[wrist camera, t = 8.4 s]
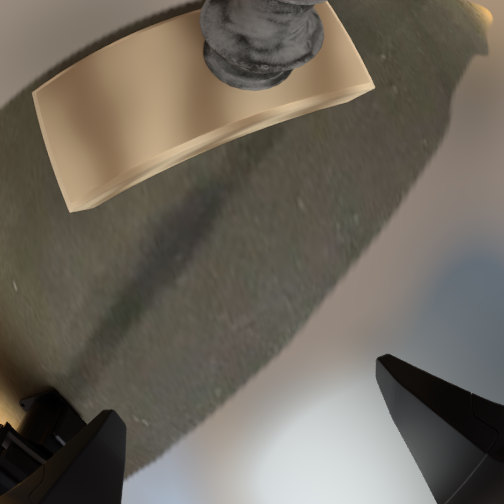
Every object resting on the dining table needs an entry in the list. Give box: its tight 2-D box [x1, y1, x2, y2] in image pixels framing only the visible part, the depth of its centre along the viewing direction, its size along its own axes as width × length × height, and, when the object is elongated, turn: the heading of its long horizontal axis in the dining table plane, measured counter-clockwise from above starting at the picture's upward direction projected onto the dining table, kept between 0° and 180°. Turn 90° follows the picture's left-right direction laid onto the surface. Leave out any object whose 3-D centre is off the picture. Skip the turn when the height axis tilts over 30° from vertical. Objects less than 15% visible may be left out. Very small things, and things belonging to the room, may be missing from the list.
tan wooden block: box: [32, 1, 375, 212], centre depth 15 cm, size 20×8×4 cm, turn 113°
